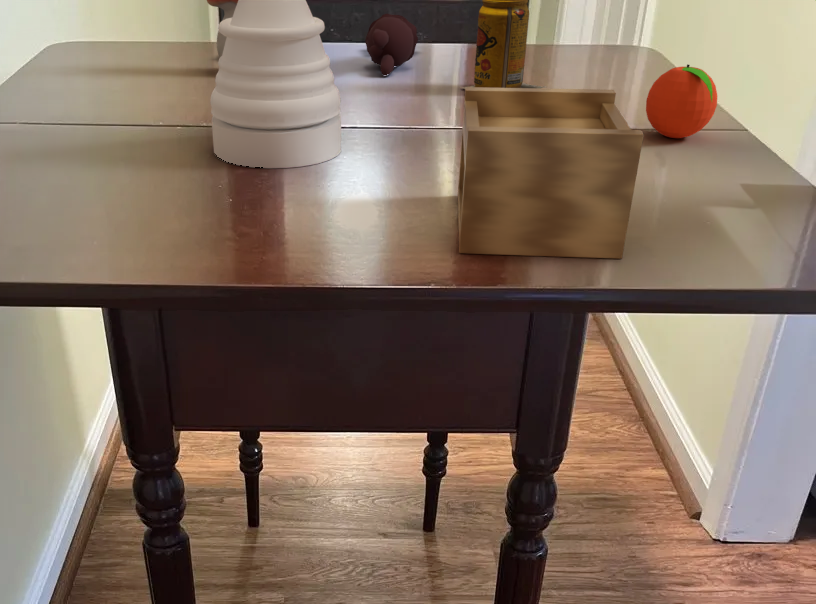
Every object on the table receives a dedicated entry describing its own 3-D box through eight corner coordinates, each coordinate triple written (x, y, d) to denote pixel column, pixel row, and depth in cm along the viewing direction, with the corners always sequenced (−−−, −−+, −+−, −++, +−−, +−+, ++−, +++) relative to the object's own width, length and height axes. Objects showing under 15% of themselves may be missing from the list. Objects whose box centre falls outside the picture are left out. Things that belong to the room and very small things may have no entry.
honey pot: (240, 175, 86) (226, -44, 76) (197, 142, 96) (180, -56, 86) (363, 157, 91) (365, -51, 81) (310, 128, 100) (306, -61, 90)
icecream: (370, 8, 131) (346, 35, 120) (420, -5, 129) (401, 21, 117) (381, 58, 135) (360, 89, 124) (430, 46, 132) (413, 77, 121)
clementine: (730, 144, 94) (747, 70, 90) (674, 151, 92) (688, 76, 88) (681, 126, 100) (694, 56, 96) (626, 132, 98) (638, 60, 94)
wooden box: (597, 199, 80) (613, 89, 75) (622, 259, 68) (644, 134, 63) (457, 195, 81) (465, 87, 76) (459, 253, 69) (467, 130, 64)
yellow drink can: (458, 89, 116) (465, -18, 110) (506, 80, 120) (515, -23, 114) (500, 99, 111) (510, -12, 105) (548, 89, 116) (560, -18, 109)
